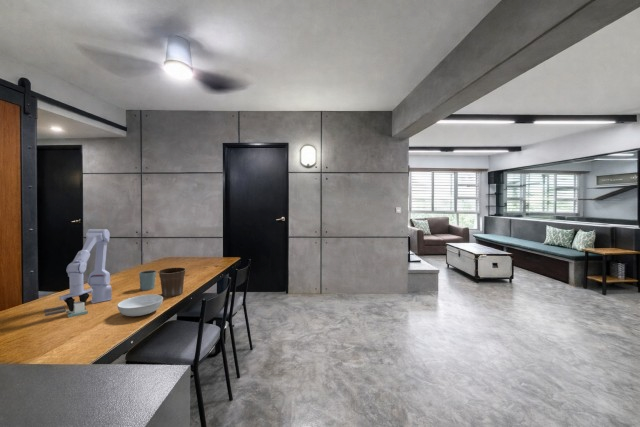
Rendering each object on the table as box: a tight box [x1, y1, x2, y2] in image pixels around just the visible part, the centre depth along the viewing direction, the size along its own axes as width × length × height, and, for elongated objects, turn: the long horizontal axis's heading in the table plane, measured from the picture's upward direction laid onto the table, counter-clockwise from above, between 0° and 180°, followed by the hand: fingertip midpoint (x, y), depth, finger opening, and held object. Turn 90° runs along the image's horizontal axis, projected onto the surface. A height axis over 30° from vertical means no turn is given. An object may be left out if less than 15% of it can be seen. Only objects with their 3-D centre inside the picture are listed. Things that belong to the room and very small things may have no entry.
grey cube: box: [68, 300, 86, 314], centre depth 149 cm, size 4×5×5 cm
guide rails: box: [43, 305, 89, 318], centre depth 150 cm, size 16×20×1 cm
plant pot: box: [157, 267, 187, 298], centre depth 182 cm, size 16×16×16 cm
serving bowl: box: [117, 294, 164, 317], centre depth 150 cm, size 21×21×7 cm
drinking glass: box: [138, 269, 157, 291], centre depth 194 cm, size 10×10×12 cm
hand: (77, 309), depth 149 cm, fingers closed on grey cube, 4 cm apart
